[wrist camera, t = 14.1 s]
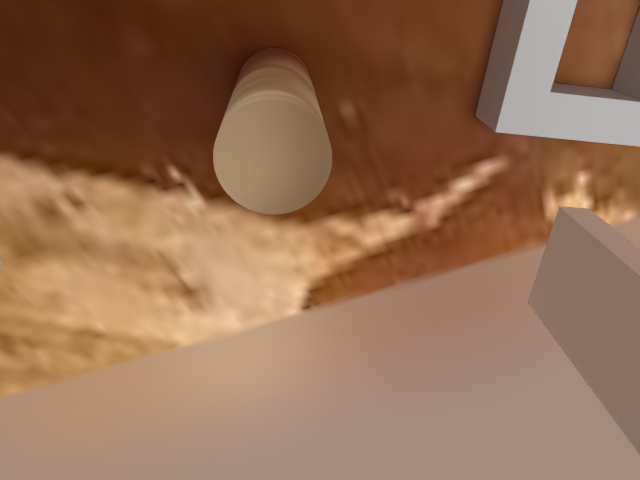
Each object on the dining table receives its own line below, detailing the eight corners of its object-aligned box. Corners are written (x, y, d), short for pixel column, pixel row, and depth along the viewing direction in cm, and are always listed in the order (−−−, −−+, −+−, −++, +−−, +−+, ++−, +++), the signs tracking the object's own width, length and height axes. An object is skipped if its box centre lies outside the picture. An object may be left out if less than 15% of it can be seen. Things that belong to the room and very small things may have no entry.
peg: (235, 116, 28) (209, 207, 17) (241, 41, 27) (218, 91, 16) (305, 125, 29) (322, 220, 18) (316, 53, 27) (341, 109, 16)
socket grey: (475, 116, 29) (495, 131, 27) (522, -81, 25) (552, -86, 23) (634, 132, 30) (668, 149, 28) (703, -55, 26) (752, -56, 24)
